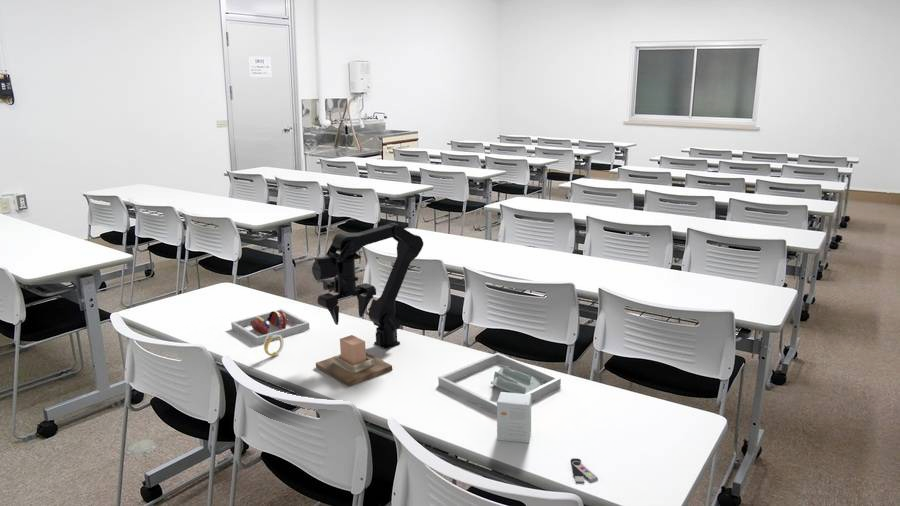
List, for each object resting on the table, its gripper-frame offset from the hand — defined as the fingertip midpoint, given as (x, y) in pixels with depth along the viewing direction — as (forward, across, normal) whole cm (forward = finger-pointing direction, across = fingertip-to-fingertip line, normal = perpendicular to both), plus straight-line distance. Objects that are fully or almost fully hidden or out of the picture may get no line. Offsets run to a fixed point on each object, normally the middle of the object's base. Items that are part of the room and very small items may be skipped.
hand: (348, 320), depth 206 cm
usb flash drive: (+13, -2, +90) cm, 91 cm away
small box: (+12, -2, +69) cm, 70 cm away
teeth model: (+12, +8, -40) cm, 42 cm away
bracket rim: (+12, -19, +48) cm, 53 cm away
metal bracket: (+13, -21, +52) cm, 58 cm away
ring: (+12, +18, -17) cm, 28 cm away
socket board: (+12, +5, +9) cm, 16 cm away
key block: (+10, +5, +9) cm, 15 cm away
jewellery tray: (+12, +8, -39) cm, 42 cm away
